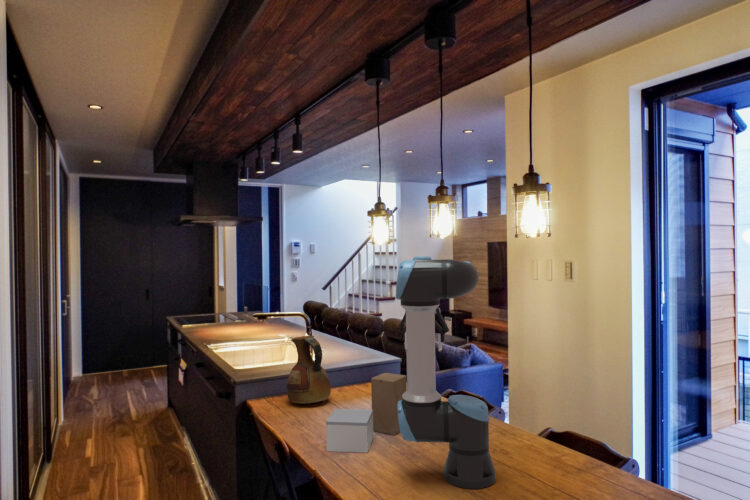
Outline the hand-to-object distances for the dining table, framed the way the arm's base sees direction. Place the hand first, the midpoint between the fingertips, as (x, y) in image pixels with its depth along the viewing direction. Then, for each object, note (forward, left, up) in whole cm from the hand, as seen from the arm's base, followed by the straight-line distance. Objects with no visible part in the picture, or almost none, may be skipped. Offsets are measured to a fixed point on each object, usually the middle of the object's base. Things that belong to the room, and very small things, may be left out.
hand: (423, 349), depth 199 cm
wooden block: (-10, +13, -29) cm, 33 cm away
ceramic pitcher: (+21, +53, -29) cm, 64 cm away
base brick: (-26, +25, -29) cm, 46 cm away
